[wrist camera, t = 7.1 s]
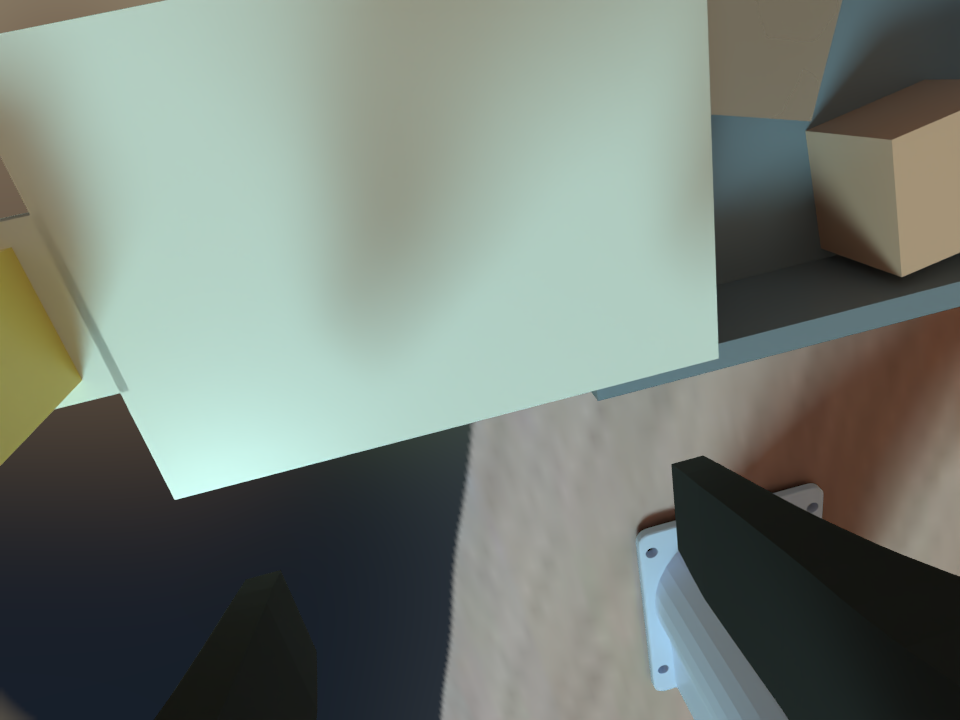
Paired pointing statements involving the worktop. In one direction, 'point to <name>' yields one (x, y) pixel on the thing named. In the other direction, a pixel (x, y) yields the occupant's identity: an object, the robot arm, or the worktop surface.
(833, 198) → the tan block
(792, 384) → the worktop surface
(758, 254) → the tub
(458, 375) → the lid
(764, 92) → the brown cube
